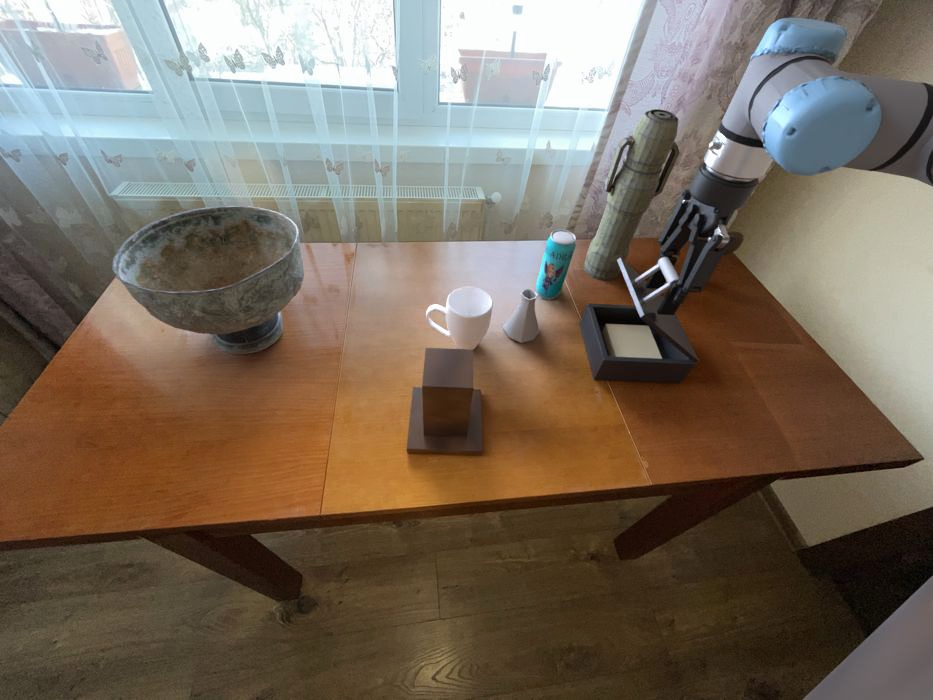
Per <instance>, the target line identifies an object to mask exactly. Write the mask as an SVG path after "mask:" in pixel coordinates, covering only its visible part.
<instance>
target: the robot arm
mask: <svg viewBox="0 0 933 700" xmlns="http://www.w3.org/2000/svg"><path fill="white" fill-rule="evenodd" d="M847 36H848V31H847V29H846V28H845V27H843V26H841V25H839V24H837V23H833V22H828V21H824V20H819V19H813V18H804V17H784V18H779V19H778V20H776V21H774V22H773V23H771V25H769V26H768V28H767V30H766V31H765V33H764V35H763V37H762V39H761V41H760V42H759V44H758V46H757V47H756V49H755V51H754V53H753V54H751V56H750V59H749V64H748V66H747V68H746V69H745V71H744V74H743V76H742V78H741V80H740V82H739V85H738V87H737V88H736V90H735V91H734V92H735V93H734V95H733V97H732V98H731V101H730V103H729V105H728V106H727V109H726V111H725V113H724V116H723V117H722V120H721V122H720V124H719V126H718V128H717V131H716V133H715V134H714V137H713V139H712V141H711V142H709V144H708V148H707V151H706V153H705V155H704V157H703V161H704V162H702V163H701V164H700V165H699V166H698V168H697V171H696V173H695V174H694V176H693V178H692V181H691V182H690V185H689V188H688V189H683V190H681V193H680V195H679V198H678V202H677V205H676V206H675V208H674V210H673V212H672V214H671V215H670V218H669V220H668V221H667V223H666V225H665V226H664V229H663V231H662V233H661V235H660V236H659V238H658V241H657V245H658V246H661V247H660V249H659V254H660V255H659V257H658V259H657V260H656V262H655V265H657V264H658V261H659V259H661V258H662V257H668V258H669V260H670V262H671V263H672V265H673V267H674V268H675V265H676V263H677V261H678V257H676V256H681V250H682V249H683V247H684V246H685V245H686V244H687V243H689V247H688V250H687V253H686V256H685V259H684V261H683V264H682V268H681V270H680V273H679V275H678V276H679V279H678V282H673V283H672V285H671V287H670V288H669V289H668V290H667V292H666V294H665V296H664V299H663V301H662V303H661V305H660V307H659V308H658V310H657V313H658V314H659V315H674V314H675V313H676V312H677V310H678V309H679V307H680V306H681V305H682V304H683V303H684V302H685V300H686V298H687V297H688V295H689V294H690V293H695V294H696V293H697V294H699V293H700V294H701V293H702V292H703V291H704V290H705V287H706V285H707V284H708V282H709V281H710V279H711V277H712V275H713V273H714V272H715V270H716V268H717V266H718V265H719V263H720V261H721V260H722V258H723V257H724V255H723V254H724V253H725V251H726V250H727V249H728V248H729V247H730V246H731V245H732V244H733V243H734V241H735V236H734V235H728V234H727V231H726V228H727V226H728V225H729V222H730V220H729V218H730V215H731V213H732V212H733V211H734V212H736V210H738V209H740V208H742V207H744V206H745V205H746V204H747V202H748V201H749V199H750V197H751V196H752V194H753V192H754V191H755V189H756V187H757V186H758V184H759V181H760V180H759V179H760V178H762V177H763V176H764V175H765V174H766V172H767V171H768V169H769V168H770V166H771V164H772V163H773V161H775V162H776V164H778V165H779V166H780V167H781V168H782V169H783V170H785V171H786V172H788V173H790V174H793V175H797V176H804V177H810V176H816V175H820V174H823V173H824V174H825V173H827V172H832V171H835V170H837V169H840V168H845V169H846V168H847V169H852V170H860V171H867V172H877V173H882V174H889V175H893V176H900V177H905V178H909V179H913V180H916V181H919V182H921V183H923V184H926V185H928V186H931V188H933V83H932V84H931V83H926V82H920V81H913V80H906V79H905V80H904V79H899V78H898V79H897V78H890V77H885V76H877V75H876V76H875V75H868V74H861V73H853V72H848V71H843V70H841V69H839V68H837V67H835V66H834V64H835V63H836V62H837V61H838V59H839V55H840V52H841V51H842V48H843V47H844V45H845V42H846V41H847ZM730 219H731V218H730ZM666 282H667V280H666V279H665V277H664V275H663V273H662V271H661V269H659V270H658V271H656V272H655V273H653V274H652V275H650V276H649V277H648V280H647V284H646V288H648V289H655V290H657V289H659V288H660V287H662V286H663V285H665V284H666ZM802 700H933V575H932V576H930V577H929V578H928V579H927V580H926V581H925V582H924V583H923V584H922V585H921V586H920V587H919V588H918V589H917V590H916V591H915V592H914V593H912V595H911V596H909V597H908V599H906V600H905V602H903V603H902V604H901V605H900V606H899V607H898V608H897V609H896V610H895V611H893V613H892V614H891V615H890V616H889V617H888V618H887V619H885V620H884V621H883V622H882V623H881V624H880V625H879V626H878V627H877V628H876V629H875V630H874V631H873V632H872V633H871V634H869V636H868V637H867V638H865V639H864V640H863V641H862V642H861V643H860V644H859V645H858V646H857V647H856V648H855V649H854V650H853V651H852V652H851V653H849V654H848V656H847V657H846V658H844V659H843V660H842V662H840V663H839V664H838V665H837V666H836V667H835V668H834V669H833V670H832V671H831V672H829V674H828V675H827V676H825V677H824V678H823V680H822V681H820V682H819V684H817V685H816V686H815V687H814V688H813V689H812V690H811V691H810V692H809V693H808V694H807V695H805V696H804V698H803V699H802Z"/></svg>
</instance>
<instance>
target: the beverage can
mask: <svg viewBox="0 0 933 700" xmlns="http://www.w3.org/2000/svg"><path fill="white" fill-rule="evenodd" d="M576 241H577V237H576V235H575V234H574V233H572V232H571V231H570V230H566V229H554V230H553V231H552V232H551V233H550V236H549V237H548V238H547V241H546V245H545V249H544V253H543V256H542V261H541V264H540V268H539V273H538V276H537V280H536V284H535V288H536V289H535V290H536V292H537V294H538V297H540V298H541V299H543V300H547V301H548V300H554V299H555V298H557V297H558V296H559V295H560V294H561V292H562V289H563V286H564V283H565V280H566V278H567V274H568V271H569V268H570V265H571V262H572V260H573V259H572V258H573V255H574V252H575V249H576V246H577V245H576Z"/></svg>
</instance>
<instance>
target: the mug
mask: <svg viewBox="0 0 933 700" xmlns="http://www.w3.org/2000/svg"><path fill="white" fill-rule="evenodd" d="M493 304H494V303H493V299H492V296H490V294H489V293H488V292H487V291H486V290H483V289H482V288H479V287H476V286H461V287H458V288H455V289H454V290H452V291H451V292H450V293H449V294H448V295H447V298H446V306H442V305H440V304H437V303H435V304H431V305H430V306H429V307H428V308H427V310H426V312H425V313H426V314H425V319H426V322H427V324H428V326H429V327H431V328H432V329H433V330H434V331H436V332H437V333H439V334H441V335H443V336H444V337H446V338H451V339H452V341H453V343H454V345H455V347H456V349H470V350H473V351H474V350H475V349H476V347H477V346H478V345H479V344H480V342H481V341H482V339H484V337H485V336H486V334H487V332H488V330H489V327H490V324H491V320H492V313H493ZM434 311H436V312H439V313H441V314H442V315H444V318H445V324H446V328H447V329H445V328H443V327H442V326H440V325H438V324H437V323H435V322H434V321H433V320H432V319H431V317H430V314H431V313H432V312H434Z"/></svg>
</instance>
